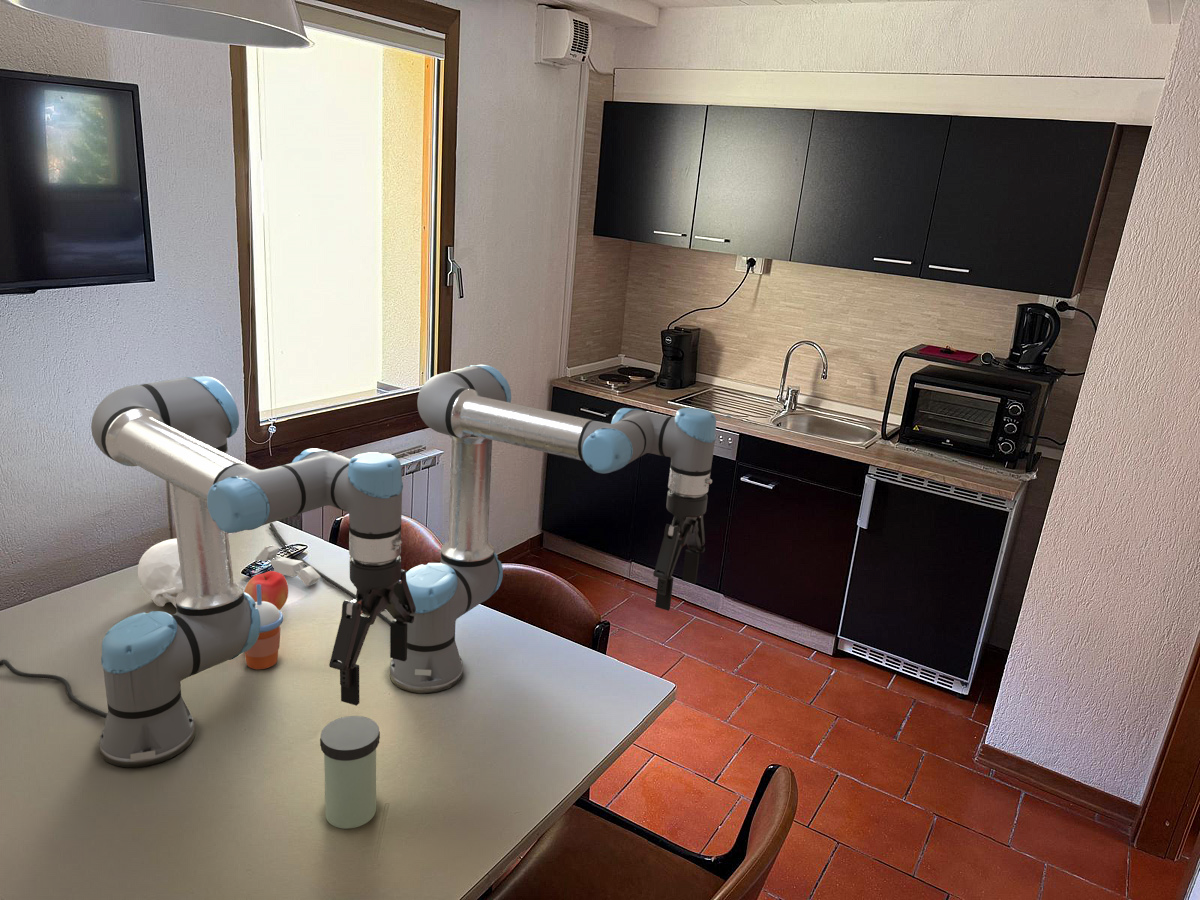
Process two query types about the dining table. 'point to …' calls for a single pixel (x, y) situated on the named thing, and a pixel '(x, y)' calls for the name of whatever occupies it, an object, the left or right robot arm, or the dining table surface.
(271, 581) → the apple
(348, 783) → the jar
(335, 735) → the lid
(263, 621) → the cup with straw
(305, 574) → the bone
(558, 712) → the dining table surface
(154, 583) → the skull
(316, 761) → the dining table surface
